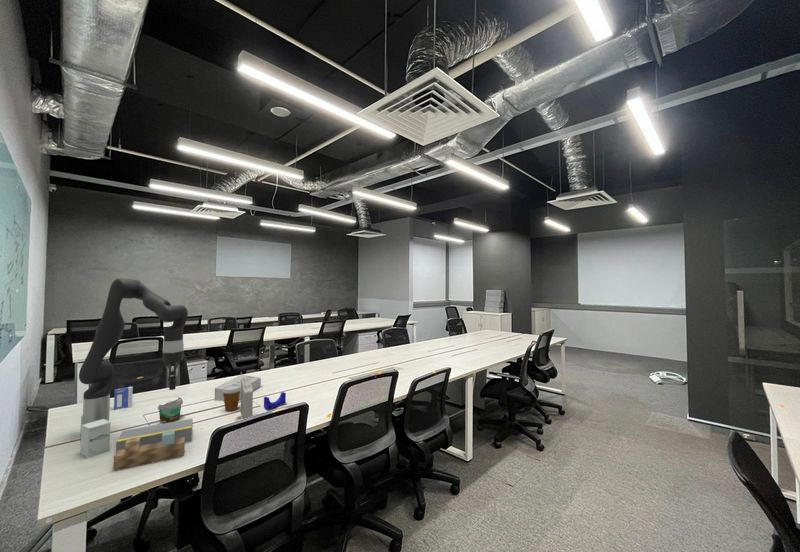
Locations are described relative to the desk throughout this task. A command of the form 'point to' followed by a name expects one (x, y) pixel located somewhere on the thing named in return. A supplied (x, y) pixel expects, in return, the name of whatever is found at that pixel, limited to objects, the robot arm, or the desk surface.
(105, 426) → the supplement box
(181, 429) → the block
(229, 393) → the disposable coffee cup
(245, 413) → the network device
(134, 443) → the crate kraft
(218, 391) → the warehouse
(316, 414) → the desk surface
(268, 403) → the blue arch block
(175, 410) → the food container
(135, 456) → the brown stepped block
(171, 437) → the crate teal
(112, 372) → the robot arm
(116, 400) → the walkman
